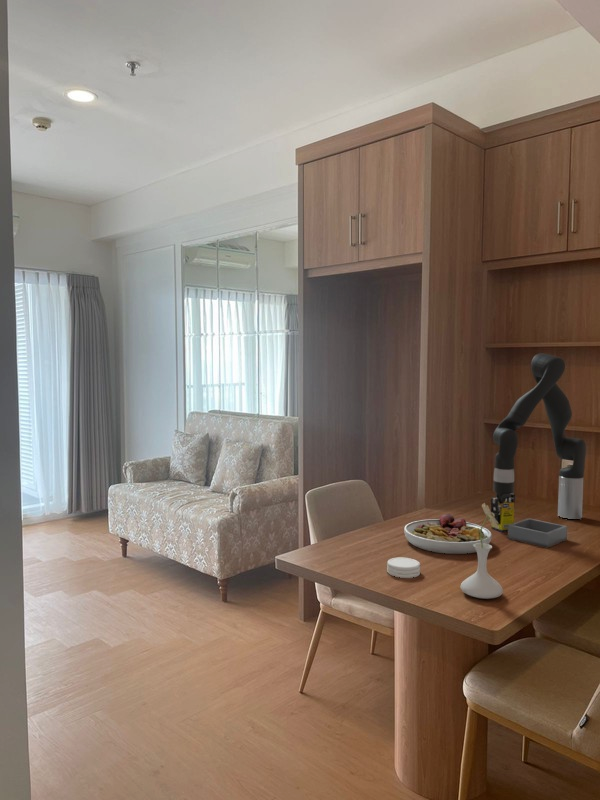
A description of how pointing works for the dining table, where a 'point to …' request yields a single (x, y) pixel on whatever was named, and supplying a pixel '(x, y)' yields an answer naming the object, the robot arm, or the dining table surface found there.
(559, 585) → the dining table surface
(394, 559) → the coaster
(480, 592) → the flower in vase
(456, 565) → the dining table surface
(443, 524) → the bowl
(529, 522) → the box
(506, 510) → the supplement box
